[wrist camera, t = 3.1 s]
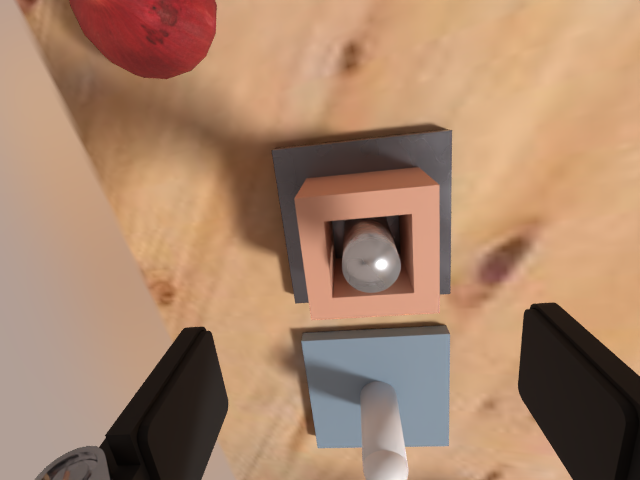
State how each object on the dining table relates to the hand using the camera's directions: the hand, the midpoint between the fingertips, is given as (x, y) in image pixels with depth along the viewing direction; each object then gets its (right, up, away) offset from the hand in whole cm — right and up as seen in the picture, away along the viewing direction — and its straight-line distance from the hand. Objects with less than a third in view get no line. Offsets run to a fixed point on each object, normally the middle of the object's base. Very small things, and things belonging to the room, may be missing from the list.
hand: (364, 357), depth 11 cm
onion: (-9, +15, +9) cm, 20 cm away
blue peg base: (+3, -7, +16) cm, 18 cm away
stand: (+2, +5, +12) cm, 13 cm away
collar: (+1, +4, +11) cm, 12 cm away
